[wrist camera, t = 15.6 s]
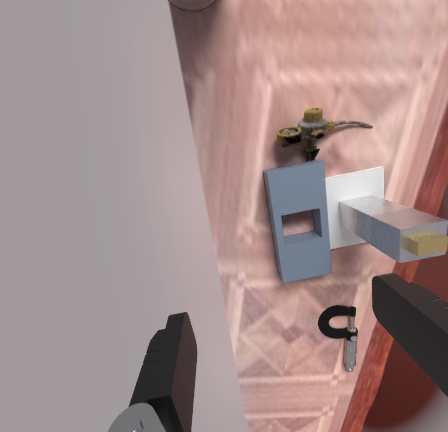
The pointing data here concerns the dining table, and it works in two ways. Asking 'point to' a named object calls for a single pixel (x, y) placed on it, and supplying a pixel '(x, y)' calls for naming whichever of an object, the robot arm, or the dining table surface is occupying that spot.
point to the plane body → (292, 203)
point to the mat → (349, 189)
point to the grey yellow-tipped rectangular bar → (394, 228)
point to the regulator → (310, 131)
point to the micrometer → (342, 332)
